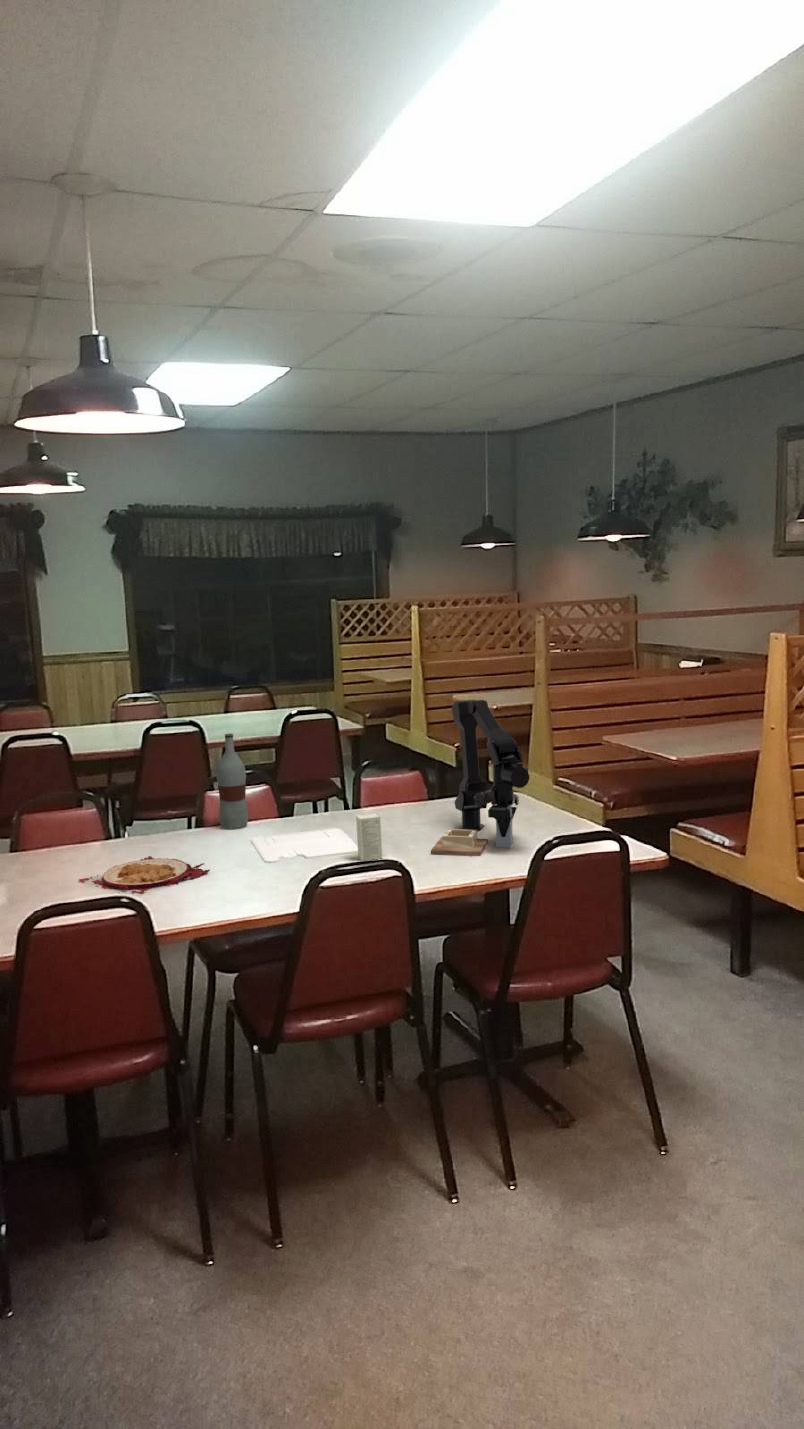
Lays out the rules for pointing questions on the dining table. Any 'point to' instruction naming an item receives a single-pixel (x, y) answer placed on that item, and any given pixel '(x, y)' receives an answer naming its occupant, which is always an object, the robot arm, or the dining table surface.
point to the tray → (304, 845)
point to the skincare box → (369, 836)
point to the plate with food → (147, 874)
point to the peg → (506, 840)
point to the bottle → (232, 788)
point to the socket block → (460, 843)
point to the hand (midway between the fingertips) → (504, 835)
